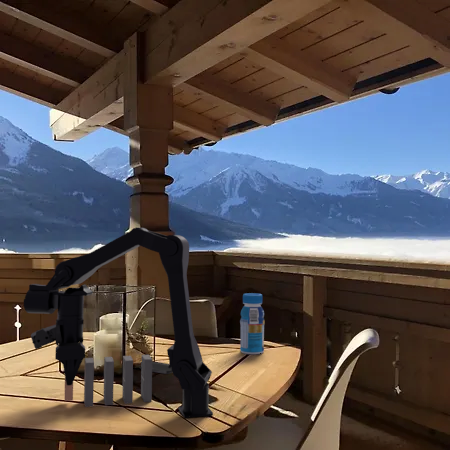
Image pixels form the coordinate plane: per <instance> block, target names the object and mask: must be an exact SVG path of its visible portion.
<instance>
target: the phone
mask: <svg viewBox="0 0 450 450" xmlns="http://www.w3.org/2000/svg"><path fill="white" fill-rule="evenodd" d="M168 367H169V363H167V362H159V361H154V360H152V373H157V374H158V373H159V374H163V375H164V374H165V375H167V374H168V375H169V374H173V373H172V367H171V368H168ZM139 368H140V369H141V367H139Z"/></svg>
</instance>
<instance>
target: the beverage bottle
mask: <svg viewBox="0 0 450 450" xmlns="http://www.w3.org/2000/svg"><path fill="white" fill-rule="evenodd" d="M242 304H244V306H242V309H241V311H240V316H241V318H240V320H239V323H240V347H239V350H240V352H241V353H242V354H245V355H261V354H263V353H264V351H265V347H264V346H265V343H264V342H265V339H264V338H265V324H266V323H265V318H264V317H265V311H264V308H263V307H262V306H261V305H262V304H263V294H261V293H255V292H254V293H253V292H251V293H250V292H249V293H247V292H246V293H243V295H242ZM260 353H261V354H260Z"/></svg>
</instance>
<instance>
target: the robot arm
mask: <svg viewBox="0 0 450 450" xmlns="http://www.w3.org/2000/svg"><path fill="white" fill-rule="evenodd" d="M139 247H143V248H145V249H148V250H149V251H153V252H155V253H158V255H159V259H160V261H161V265H162V267H163V269H164V271H165V274H166V276H167V282H168V289H169V290H168V291H169V297H170V299H169V300H170V308H171V319H172V325H173V326H172V327H173V335H174V336H173V337H174V341H173V344H172V345H171V346H170V347H168V349H166V351H167V356H168V360H169V361H168V362H169V363H168V364H169V367H168V368H171V367H172V373H171V374H172V375H173V376H174V377H175V378H176V379H178V381H179V385H180V389H181V390H182V406H178V411H179V412H180V414H181V415H182V417H183V418H184V419H186V418H187V419H189V418H197V417H198V418H199V417H210V416H213V415H214V412H213V410H211V409H210V407H209V387H210V386H209V385H210V384H209V383H208V382H209V381H210V378H211V376H212V373H213V371H212V370H211V369H210V368H209V367H208V365H207V364H205V362H204V361H203V357H202V353H201V350H200V347H199V344H198V342H197V340H196V338H195V335H194V329H193V328H194V326H193V320H192V311H191V303H190V301H191V300H190V294H189V293H190V292H189V285H188V278H187V274H188V273H187V272H188V268H189V267H188V266H189V260H190V244H189V241H188V240H187V239H186V237H184V236H182V235H179V234H169V235H165V234H162V233H159V232H155V231H152V230H148V229H147V228H145V227H137V226H136V227H135V228H134V227H133V228H132V229H130V230H129V231H128V232H126V233H125V234H123V235H121V236H118V237H116V238H115V239H113V240H111V241H110V242H107V243H106V244H104V245H102V246H100V247H99V248H97V249H96V248H95V250H93V251H91V252H89V253H87V254H84V255H80V256H76V257H73V258H68V259H65V260H63V261H61V262H59V263H58V264H57V265H55V270H54V274H53V275H52V277H51V278H50V279H49V281H48V282H47V284H41V283H30V284H29V286H28V290H27V291H26V293H25V297H24V299H23V307H24V311H25V312H26V313H28V314H47V315H49V314H50V315H51V314H54V313H55V311H56V310H57V318H56V320H55V324H52V325H50V326H47V327H45V328H43V327H42V328H41V329H39V330H38V329H37V330H36V331H34V332H32V333H31V335H30V339H31V341H32V344H33V347H34V349H35V350H38V349H41V348H43V347H44V346H48V345H50V344H51V343H54V342H55V345H56V347H55V356H54V357H55V360H57V361H59V363H60V364H62V366H63V372H64V379H65V378H66V383H67V385H72V383H73V384H74V381H75V378H76V377H77V373H78V372H79V369H80V367H81V364H82V362H83V360H85V358H86V346H85V345H84V344H83V343H84V301H85V299H84V298H85V296H86V297H87V296H90V295H93V294H94V293H93V291H92V289H90V288H89V287H88V286H87V284H82V283H83V282H85V281H86V280H87V279H89V278H90V277H91V276H93V275H94V274H95V273H96V271H97V270H98V269H101V267H103V266H105V265H107V264H109V263H110V262H113V261H114V260H116V259H118V258H120V257H121V256H123V255H125V254H126V255H127V253H130V252H131V251H133V250H134V249H137V248H139ZM80 284H82V285H80ZM75 285H80V286H79V287H71V286H75ZM65 288H66V289H65ZM61 289H65V290H64V291H62V290H61ZM60 290H61V291H60Z"/></svg>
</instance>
